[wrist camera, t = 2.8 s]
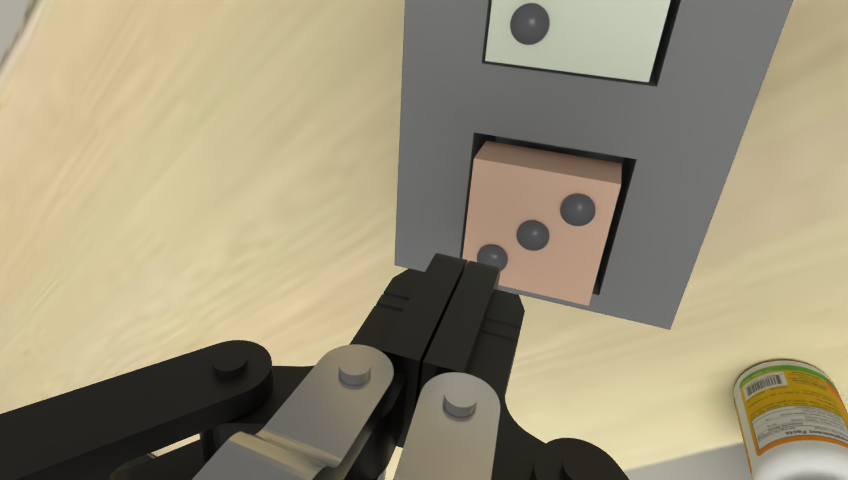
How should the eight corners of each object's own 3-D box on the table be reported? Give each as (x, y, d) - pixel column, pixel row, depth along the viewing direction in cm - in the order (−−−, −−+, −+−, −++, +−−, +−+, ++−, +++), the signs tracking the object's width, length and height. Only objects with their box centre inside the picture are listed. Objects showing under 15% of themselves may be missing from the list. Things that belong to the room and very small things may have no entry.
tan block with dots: (621, 154, 24) (621, 186, 21) (592, 266, 27) (588, 308, 24) (491, 133, 26) (472, 160, 23) (477, 241, 29) (459, 278, 26)
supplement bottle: (814, 434, 34) (873, 590, 26) (720, 411, 35) (748, 552, 27) (851, 370, 31) (930, 521, 23) (748, 348, 32) (788, 483, 24)
